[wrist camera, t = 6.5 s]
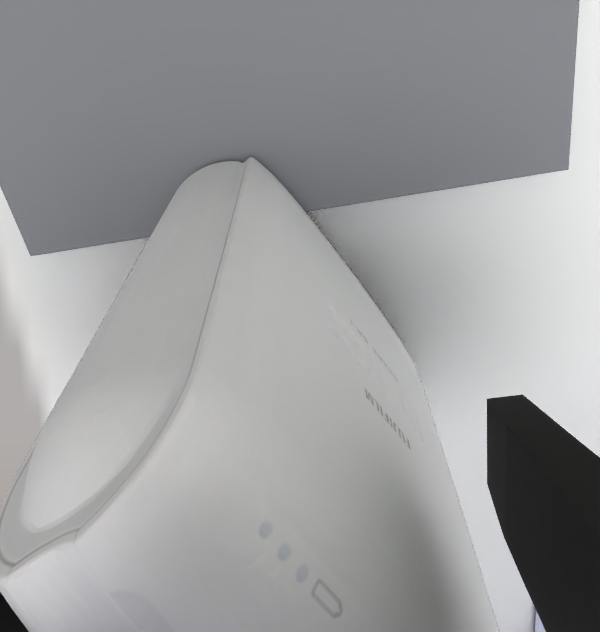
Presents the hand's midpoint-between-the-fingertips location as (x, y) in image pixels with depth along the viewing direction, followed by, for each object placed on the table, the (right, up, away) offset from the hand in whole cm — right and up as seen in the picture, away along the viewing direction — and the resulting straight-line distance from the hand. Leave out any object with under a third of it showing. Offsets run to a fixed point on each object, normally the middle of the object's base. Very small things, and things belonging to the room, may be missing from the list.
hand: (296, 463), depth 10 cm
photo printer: (0, +3, +7) cm, 8 cm away
